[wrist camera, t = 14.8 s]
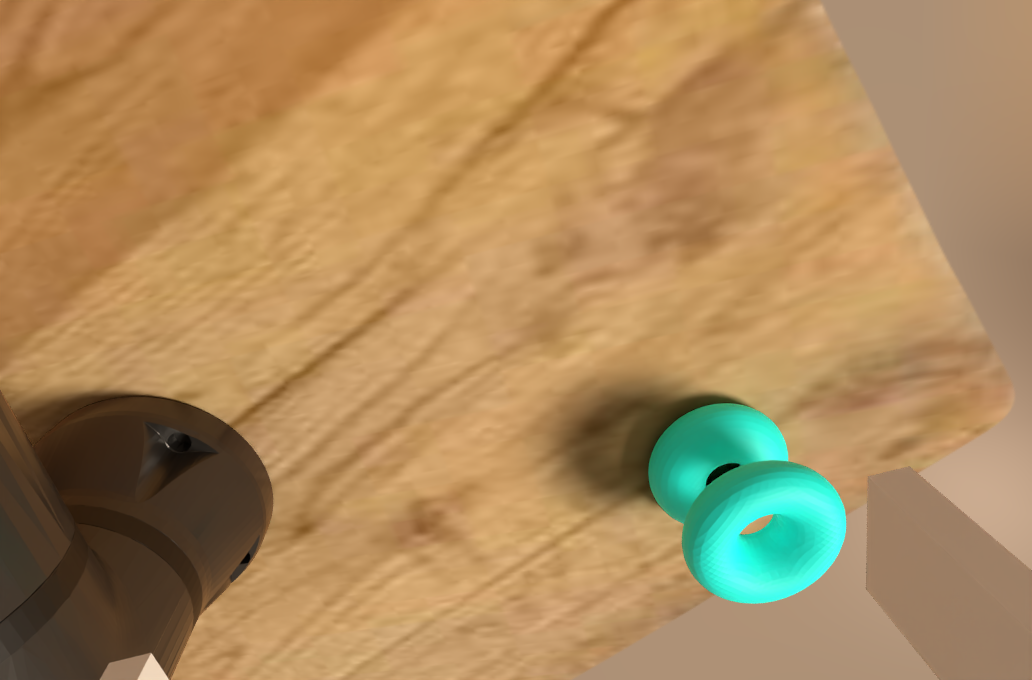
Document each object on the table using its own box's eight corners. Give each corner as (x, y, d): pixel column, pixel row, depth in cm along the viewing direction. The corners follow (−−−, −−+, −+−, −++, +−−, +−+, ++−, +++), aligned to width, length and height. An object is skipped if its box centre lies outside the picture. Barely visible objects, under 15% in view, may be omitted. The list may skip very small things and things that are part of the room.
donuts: (659, 583, 37) (763, 454, 34) (617, 481, 46) (696, 373, 43) (784, 633, 40) (890, 518, 37) (721, 528, 49) (802, 429, 46)
